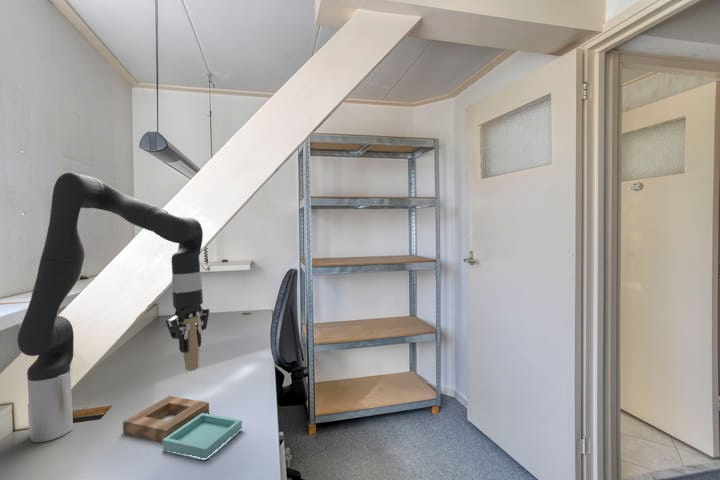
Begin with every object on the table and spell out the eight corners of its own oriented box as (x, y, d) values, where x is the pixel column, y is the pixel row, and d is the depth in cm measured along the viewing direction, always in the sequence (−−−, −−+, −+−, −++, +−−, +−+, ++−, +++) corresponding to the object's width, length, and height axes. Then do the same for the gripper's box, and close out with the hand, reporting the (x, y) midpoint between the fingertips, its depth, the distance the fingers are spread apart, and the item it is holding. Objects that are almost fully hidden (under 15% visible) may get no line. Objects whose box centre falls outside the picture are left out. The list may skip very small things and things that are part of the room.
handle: (202, 363, 104) (199, 313, 103) (200, 371, 98) (197, 317, 97) (183, 366, 102) (180, 315, 101) (181, 375, 96) (178, 320, 95)
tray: (162, 450, 92) (162, 439, 92) (202, 422, 106) (202, 412, 106) (206, 461, 88) (205, 449, 88) (241, 430, 101) (241, 420, 101)
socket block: (123, 433, 101) (122, 421, 101) (169, 406, 116) (169, 395, 116) (166, 443, 96) (166, 430, 96) (209, 413, 111) (208, 402, 111)
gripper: (195, 284, 107) (198, 340, 107) (155, 293, 93) (159, 357, 94) (215, 284, 105) (219, 342, 105) (177, 293, 91) (181, 359, 92)
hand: (190, 349), depth 99 cm, fingers closed on handle, 4 cm apart
